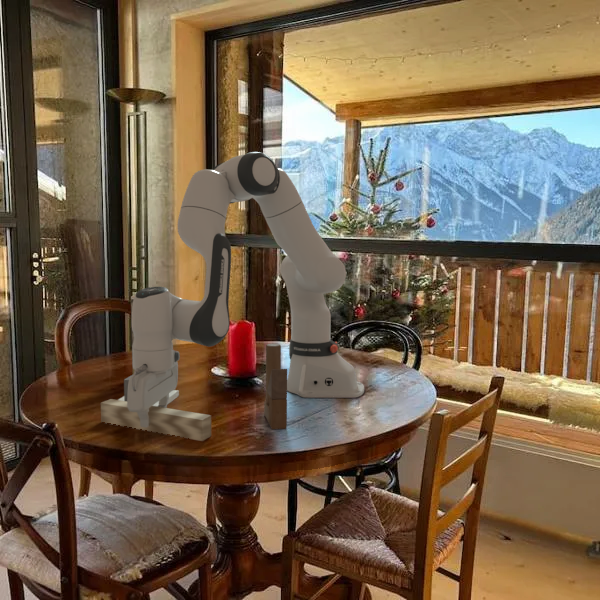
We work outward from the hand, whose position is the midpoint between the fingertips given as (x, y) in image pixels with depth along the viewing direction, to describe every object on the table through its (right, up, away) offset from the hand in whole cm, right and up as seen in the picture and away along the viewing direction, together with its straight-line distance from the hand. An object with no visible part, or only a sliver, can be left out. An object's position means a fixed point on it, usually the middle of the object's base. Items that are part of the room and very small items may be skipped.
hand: (154, 419), depth 135 cm
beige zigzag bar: (0, -3, 0) cm, 3 cm away
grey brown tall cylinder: (-13, +3, +43) cm, 45 cm away
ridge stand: (-7, 0, +18) cm, 20 cm away
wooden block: (+27, -2, +6) cm, 28 cm away
